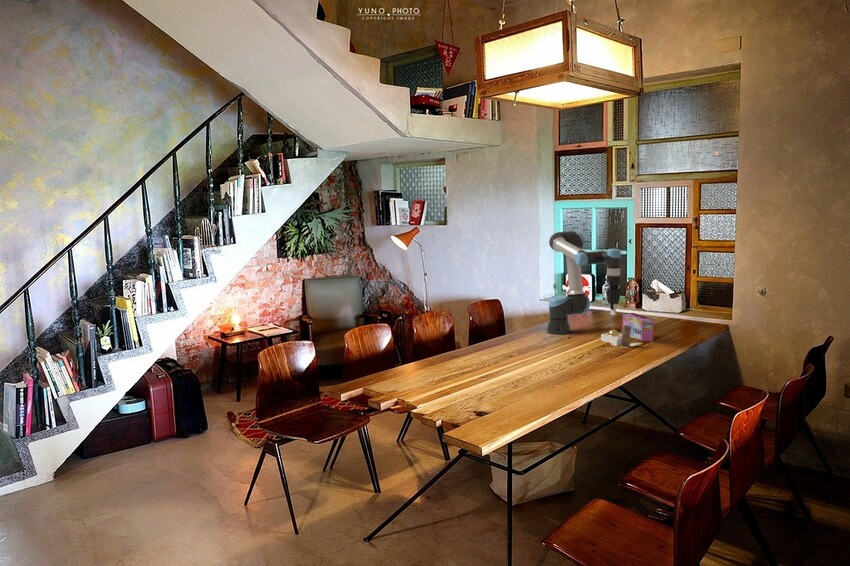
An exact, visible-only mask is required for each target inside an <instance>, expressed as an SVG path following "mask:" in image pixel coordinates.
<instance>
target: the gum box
mask: <svg viewBox="0 0 850 566" xmlns="http://www.w3.org/2000/svg"><path fill="white" fill-rule="evenodd" d="M624 325H627V326H629V328H630V338H632V339H637V340H640V341H647V342H654V319H653V318H650V317H647V316H645V315H640V314H638V313H635V312H630V313H627V314H626V313H625V314H624V313H622V327H623V326H624Z"/></svg>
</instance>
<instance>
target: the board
mask: <svg viewBox="0 0 850 566" xmlns="http://www.w3.org/2000/svg"><path fill="white" fill-rule="evenodd" d="M639 345H643V343H642V342H637V341H636V342H631V343H630V347H635V346H639ZM620 347H621V348H623V347H622V345H620ZM630 347H629V348H630ZM624 348H625V349H627V348H628V347H624Z"/></svg>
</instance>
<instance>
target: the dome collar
mask: <svg viewBox="0 0 850 566" xmlns="http://www.w3.org/2000/svg"><path fill="white" fill-rule="evenodd" d="M608 333H609V332H607V333H602V334H600V341H601V342H604V343H605V342H606V343H610V344H611V338H615V337H617V338H621V343H622V333H619V332H618V333H619V335H620V336H615V337H613V336H608V335H607V334H608Z"/></svg>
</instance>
